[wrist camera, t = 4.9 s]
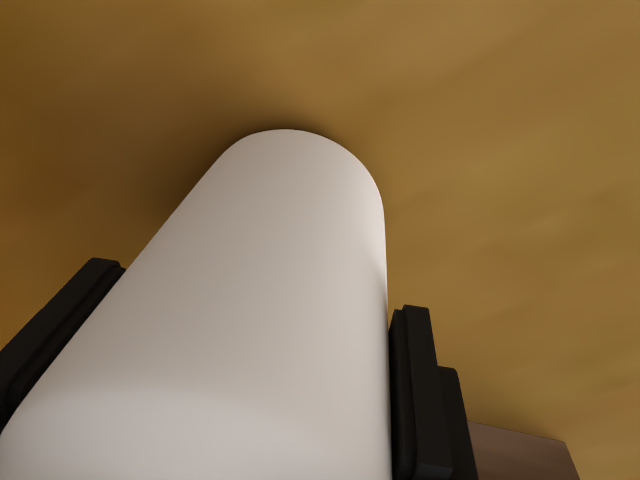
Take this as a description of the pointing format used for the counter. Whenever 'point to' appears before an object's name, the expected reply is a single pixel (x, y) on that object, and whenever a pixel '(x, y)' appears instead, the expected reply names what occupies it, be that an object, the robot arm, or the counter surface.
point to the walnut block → (518, 455)
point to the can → (232, 337)
